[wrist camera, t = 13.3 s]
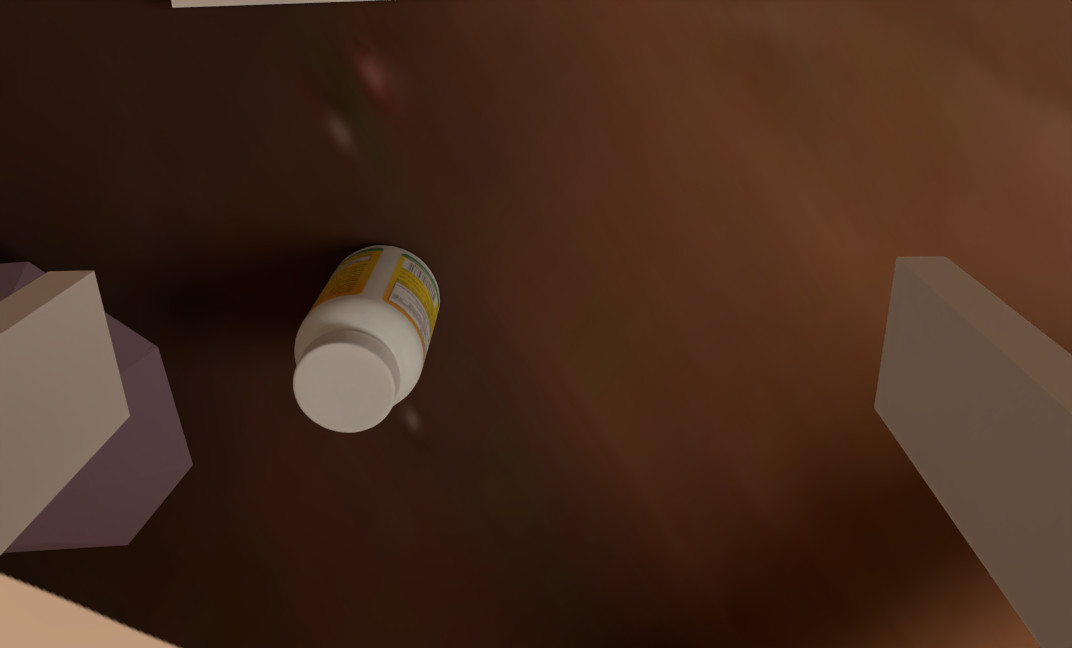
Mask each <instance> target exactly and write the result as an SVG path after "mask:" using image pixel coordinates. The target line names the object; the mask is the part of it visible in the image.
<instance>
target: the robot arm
mask: <svg viewBox="0 0 1072 648" xmlns="http://www.w3.org/2000/svg"><path fill="white" fill-rule="evenodd" d="M874 408H875V410H876V411H877V413H878V414H879V416H880V417H881V418H882V420H883V421H884V423H885V424H886V426H887V427H888V428H889V430H890V431H891V433H892V434H893V436H894V437H895V439H896V440H897V441H898V443H899V444H900V446H901V447H902V449H903V450H904V452H905V453H906V454H907V456H908V457H909V459H910V460H911V462H912V463H913V464H914V466H915V467H916V469H917V470H918V472H919V473H920V475H921V476H922V477H923V479H924V480H925V482H926V483H927V485H928V486H929V488H930V489H931V490H932V492H933V493H934V495H935V496H936V498H937V499H938V500H939V502H940V503H941V505H942V506H943V508H944V509H945V511H946V512H947V513H948V515H949V516H950V518H951V519H952V521H953V522H954V523H955V525H956V526H957V528H958V529H959V531H960V532H961V534H962V535H963V536H964V538H965V539H966V541H967V542H968V544H969V545H970V547H971V548H972V549H973V551H974V552H975V554H976V555H977V557H978V558H979V559H980V561H981V562H982V564H983V565H984V567H985V568H986V570H987V571H988V572H989V574H990V575H991V577H992V578H993V580H994V581H995V583H996V584H997V585H998V587H999V588H1000V590H1001V591H1002V593H1003V594H1004V595H1005V597H1006V598H1007V600H1008V601H1009V603H1010V604H1011V606H1012V607H1013V608H1014V610H1015V611H1016V613H1017V614H1018V616H1019V617H1020V619H1021V620H1022V621H1023V623H1024V624H1025V626H1026V627H1027V629H1028V630H1029V631H1030V633H1031V634H1032V636H1033V637H1034V639H1035V640H1036V642H1037V643H1038V644H1039V646H1040V647H1041V648H1072V355H1071V354H1070V353H1068V352H1067V351H1066V350H1065V349H1063V348H1062V347H1061V346H1059V345H1058V344H1057V343H1056V342H1054V341H1053V340H1052V339H1050V338H1049V337H1048V336H1047V335H1045V334H1044V333H1043V332H1041V331H1040V330H1039V329H1038V328H1036V327H1035V326H1034V325H1033V324H1031V323H1030V322H1029V321H1027V320H1026V319H1025V318H1024V317H1022V316H1021V315H1020V314H1018V313H1017V312H1016V311H1015V310H1013V309H1012V308H1011V307H1009V306H1008V305H1007V304H1006V303H1004V302H1003V301H1002V300H1001V299H999V298H998V297H997V296H995V295H994V294H993V293H992V292H990V291H989V290H988V289H986V288H985V287H984V286H983V285H981V284H980V283H979V282H977V281H976V280H975V279H974V278H972V277H971V276H970V275H969V274H967V273H966V272H965V271H963V270H962V269H961V268H960V267H958V266H957V265H956V264H954V263H953V262H952V261H951V260H949V259H948V258H947V257H945V256H922V257H896V264H895V271H894V277H893V284H892V291H891V298H890V304H889V311H888V318H887V324H886V331H885V338H884V345H883V351H882V358H881V365H880V371H879V378H878V385H877V392H876V398H875V405H874ZM129 417H130V414H129V410H128V406H127V402H126V398H125V394H124V390H123V386H122V382H121V378H120V373H119V369H118V365H117V361H116V357H115V353H114V349H113V345H112V341H111V337H110V333H109V329H108V325H107V321H106V317H105V313H104V309H103V305H102V301H101V297H100V293H99V288H98V284H97V280H96V276H95V272H94V271H49V272H47V273H45V274H44V275H42V276H41V277H39V278H37V279H36V280H34V281H33V282H31V283H29V284H28V285H26V286H24V287H23V288H21V289H20V290H18V291H16V292H15V293H13V294H12V295H10V296H8V297H7V298H5V299H3V300H2V301H0V555H1V554H2V553H3V552H4V551H5V550H6V549H7V548H8V547H9V545H10V544H11V543H12V542H13V541H14V540H15V539H16V538H17V537H18V536H19V535H20V534H21V533H22V532H23V530H24V529H25V528H26V527H27V526H28V525H29V524H30V523H31V522H32V521H33V520H34V519H35V518H36V516H37V515H38V514H39V513H40V512H41V511H42V510H43V509H44V508H45V507H46V506H47V505H48V504H49V503H50V501H51V500H52V499H53V498H54V497H55V496H56V495H57V494H58V493H59V492H60V491H61V490H62V489H63V488H64V486H65V485H66V484H67V483H68V482H69V481H70V480H71V479H72V478H73V477H74V476H75V475H76V474H77V472H78V471H79V470H80V469H81V468H82V467H83V466H84V465H85V464H86V463H87V462H88V461H89V460H90V459H91V457H92V456H93V455H94V454H95V453H96V452H97V451H98V450H99V449H100V448H101V447H102V446H103V445H104V443H105V442H106V441H107V440H108V439H109V438H110V437H111V436H112V435H113V434H114V433H115V432H116V431H117V430H118V428H119V427H120V426H121V425H122V424H123V423H124V422H125V421H126V420H127V419H128V418H129Z"/></svg>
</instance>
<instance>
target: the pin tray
mask: <svg viewBox="0 0 1072 648" xmlns="http://www.w3.org/2000/svg"><path fill="white" fill-rule="evenodd" d="M345 1H373V0H171V2H172V7H173V8H174V7H203V6H231V5H260V4H288V3H317V2H345Z"/></svg>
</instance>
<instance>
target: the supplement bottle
mask: <svg viewBox="0 0 1072 648" xmlns="http://www.w3.org/2000/svg"><path fill="white" fill-rule="evenodd" d="M439 304H440V297H439V289H438V285H437V282H436V280H435V278H434V276H433V274H432V272H431V271H430V269H429V268H428V267H427V266H426V264H425V263H424V262H423V261H422V260H420V259H419V258H418V257H417V256H415V255H414V254H412V253H410V252H408V251H406V250H404V249H401V248H398V247H394V246H386V245H375V246H370V247H366V248H364V249H361V250H359V251H356V252H354V253H353V254H351V255H350V256H348V257H347V258H345V259H344V260H343V261H342V262H341V263H340V265H339V266H338V267H337V269H336V270H335V271H334V273H333V274H332V276H331V278H330V279H329V281H328V283H327V284H326V286H325V288H324V289H323V291H322V293H321V294H320V296H319V297H318V299H317V300H316V302H315V304H314V305H313V307H312V308H311V310H310V311H309V313H308V314H307V316H306V318H305V319H304V321H303V323H302V324H301V326H300V328H299V331H298V333H297V336H296V341H295V361H296V365H297V366H296V369H295V372H294V377H293V390H294V394H295V397H296V400H297V402H298V404H299V406H300V408H301V409H302V410H303V412H304V413H305V414H306V415H307V416H308V417H309V418H310V419H312V420H313V421H314V422H316V423H317V424H319V425H321V426H323V427H325V428H327V429H330V430H333V431H338V432H359V431H363V430H366V429H369V428H371V427H373V426H375V425H377V424H378V423H380V422H381V421H382V420H383V419H384V418H385V417H386V416H387V415H388V413H389V412H390V410H391V408H392V406H393V405H395V404H397V403H398V402H400V401H401V400H402V399H404V398H405V397H406V396H407V395H408V394H409V393H410V391H411V390H412V389H413V388H414V386H415V384H416V383H417V381H418V379H419V377H420V374H421V371H422V368H423V364H424V361H425V357H426V353H427V350H428V347H429V343H430V340H431V336H432V332H433V329H434V325H435V322H436V318H437V314H438V311H439Z"/></svg>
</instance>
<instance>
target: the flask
mask: <svg viewBox="0 0 1072 648" xmlns="http://www.w3.org/2000/svg"><path fill="white" fill-rule="evenodd" d="M44 274H45V272H43V271H42V270H40V269H39V268H37V267H36V266H34V265H33V264H31V263H30V262H17V263H4V264H0V301H2V300H3V299H5V298H7V297H8V296H10V295H12V294H13V293H15V292H16V291H18V290H20V289H21V288H23V287H24V286H26V285H28V284H29V283H31V282H33V281H34V280H36V279H37V278H39V277H41V276H42V275H44ZM104 313H105V312H104ZM105 317H106V321H107V325H108V329H109V333H110V337H111V341H112V345H113V349H114V353H115V357H116V361H117V365H118V369H119V373H120V378H121V382H122V386H123V390H124V394H125V398H126V402H127V406H128V410H129V414H130V417H129V418H128V419H127V420H126V421H125V422H124V423H123V424H122V425H121V426H120V427H119V428H118V430H117V431H116V432H115V433H114V434H113V435H112V436H111V437H110V438H109V439H108V440H107V441H106V442H105V443H104V445H103V446H102V447H101V448H100V449H99V450H98V451H97V452H96V453H95V454H94V455H93V456H92V457H91V459H90V460H89V461H88V462H87V463H86V464H85V465H84V466H83V467H82V468H81V469H80V470H79V471H78V472H77V474H76V475H75V476H74V477H73V478H72V479H71V480H70V481H69V482H68V483H67V484H66V485H65V486H64V488H63V489H62V490H61V491H60V492H59V493H58V494H57V495H56V496H55V497H54V498H53V499H52V500H51V501H50V503H49V504H48V505H47V506H46V507H45V508H44V509H43V510H42V511H41V512H40V513H39V514H38V515H37V516H36V518H35V519H34V520H33V521H32V522H31V523H30V524H29V525H28V526H27V527H26V528H25V529H24V530H23V532H22V533H21V534H20V535H19V536H18V537H17V538H16V539H15V540H14V541H13V542H12V543H11V544H10V545H9V547H8V548H7V549H6V550H5V551H4V553H8V552H24V551H40V550H55V549H71V548H87V547H103V546H119V545H128V544H129V543H130V542H131V540H132V539H133V538H134V537H135V535H136V534H137V533H138V532H139V530H140V529H141V528H142V527H143V526H144V524H145V523H146V522H147V521H148V519H149V518H150V517H151V516H152V515H153V513H154V512H155V511H156V510H157V508H158V507H159V506H160V505H161V503H162V502H163V501H164V500H165V499H166V497H167V496H168V495H169V494H170V492H171V491H172V490H173V489H174V488H175V486H176V485H177V484H178V483H179V481H180V480H181V479H182V478H183V476H184V475H185V474H186V473H187V472H188V470H189V469H190V468H191V467H192V465H193V464H192V460H191V457H190V454H189V450H188V447H187V443H186V440H185V437H184V433H183V430H182V427H181V423H180V420H179V416H178V413H177V410H176V406H175V403H174V400H173V396H172V393H171V389H170V386H169V383H168V379H167V376H166V373H165V369H164V366H163V362H162V359H161V356H160V352H159V349H158V347H157V346H155V345H154V344H152V343H151V342H149V341H148V340H146V339H145V338H143V337H142V336H140V335H139V334H137V333H136V332H134V331H133V330H131V329H130V328H128V327H127V326H125V325H123V324H122V323H120V322H119V321H117V320H116V319H114V318H113V317H111V316H110V315H108V314H107V313H105Z"/></svg>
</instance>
